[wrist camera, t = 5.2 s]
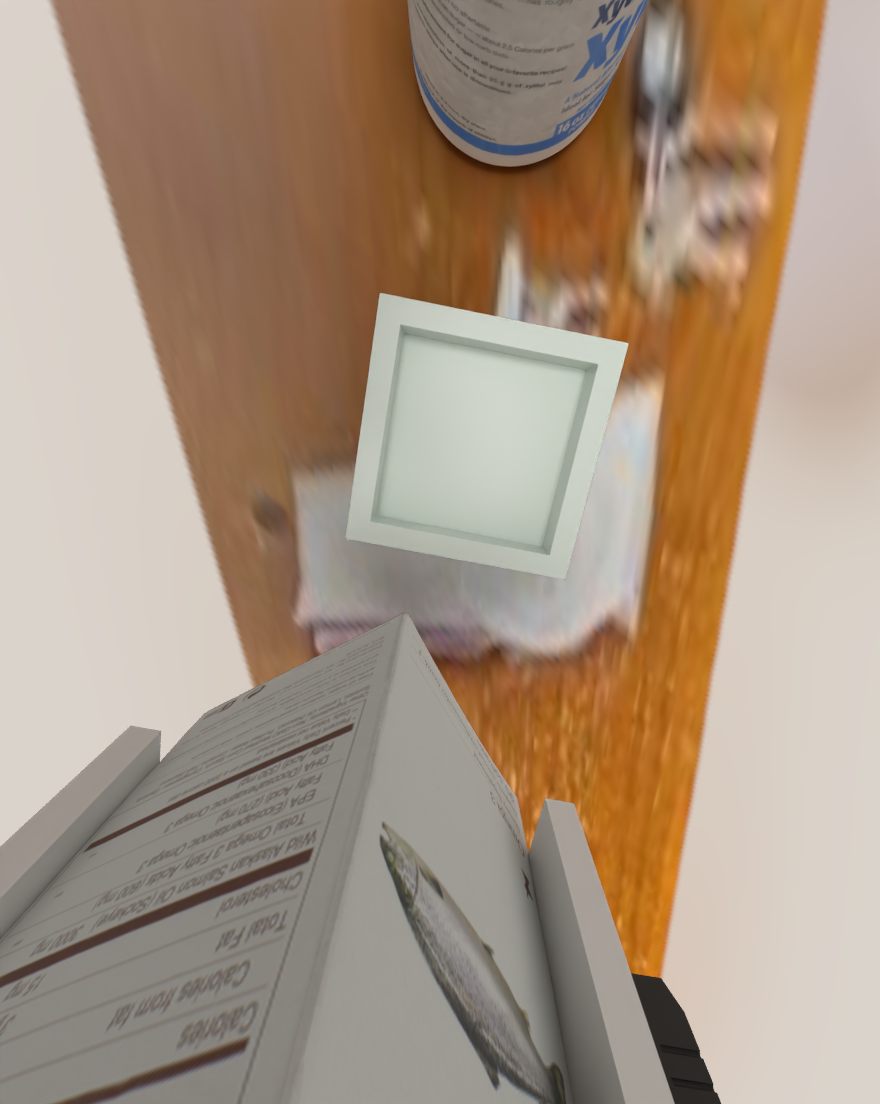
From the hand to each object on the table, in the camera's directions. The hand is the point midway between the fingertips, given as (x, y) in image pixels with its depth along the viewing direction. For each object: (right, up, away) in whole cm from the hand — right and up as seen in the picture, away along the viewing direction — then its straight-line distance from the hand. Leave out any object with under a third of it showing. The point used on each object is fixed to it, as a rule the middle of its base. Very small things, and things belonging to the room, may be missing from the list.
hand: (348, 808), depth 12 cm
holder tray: (+5, +13, +14) cm, 20 cm away
